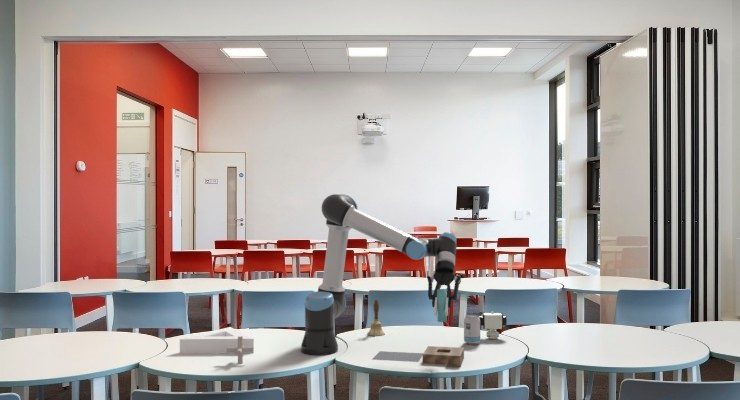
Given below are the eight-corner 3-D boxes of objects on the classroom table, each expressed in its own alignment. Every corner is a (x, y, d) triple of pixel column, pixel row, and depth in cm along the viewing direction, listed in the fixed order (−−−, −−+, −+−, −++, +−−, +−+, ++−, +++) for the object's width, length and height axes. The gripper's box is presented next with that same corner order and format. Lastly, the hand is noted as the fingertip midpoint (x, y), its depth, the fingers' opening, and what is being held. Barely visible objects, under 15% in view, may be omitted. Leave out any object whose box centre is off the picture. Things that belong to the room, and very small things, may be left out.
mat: (371, 360, 243) (371, 359, 243) (379, 352, 257) (379, 351, 257) (418, 363, 239) (418, 361, 239) (423, 354, 252) (423, 353, 252)
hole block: (422, 364, 236) (422, 354, 236) (428, 356, 250) (428, 346, 250) (460, 366, 233) (460, 356, 233) (464, 358, 247) (463, 347, 247)
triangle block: (179, 354, 258) (179, 339, 258) (196, 341, 284) (196, 327, 284) (253, 354, 258) (253, 338, 258) (263, 340, 284) (263, 326, 284)
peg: (437, 321, 241) (436, 290, 241) (438, 320, 244) (437, 289, 244) (446, 322, 240) (445, 290, 240) (447, 320, 243) (446, 289, 243)
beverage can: (483, 344, 271) (483, 316, 271) (469, 345, 268) (469, 317, 268) (474, 341, 277) (474, 313, 277) (461, 342, 274) (460, 314, 275)
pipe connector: (228, 360, 245) (228, 334, 246) (255, 359, 246) (254, 333, 246) (224, 366, 235) (224, 339, 236) (252, 366, 236) (251, 339, 236)
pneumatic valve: (506, 339, 280) (506, 312, 280) (480, 339, 281) (479, 312, 281) (504, 337, 286) (504, 310, 286) (478, 336, 286) (478, 310, 286)
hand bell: (388, 333, 295) (388, 299, 295) (378, 336, 288) (378, 301, 288) (373, 331, 300) (373, 298, 300) (363, 334, 293) (363, 300, 293)
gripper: (466, 271, 255) (463, 320, 239) (426, 271, 259) (420, 318, 243) (465, 259, 250) (462, 308, 234) (423, 259, 254) (417, 307, 238)
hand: (440, 313), depth 238 cm, fingers closed on peg, 3 cm apart
